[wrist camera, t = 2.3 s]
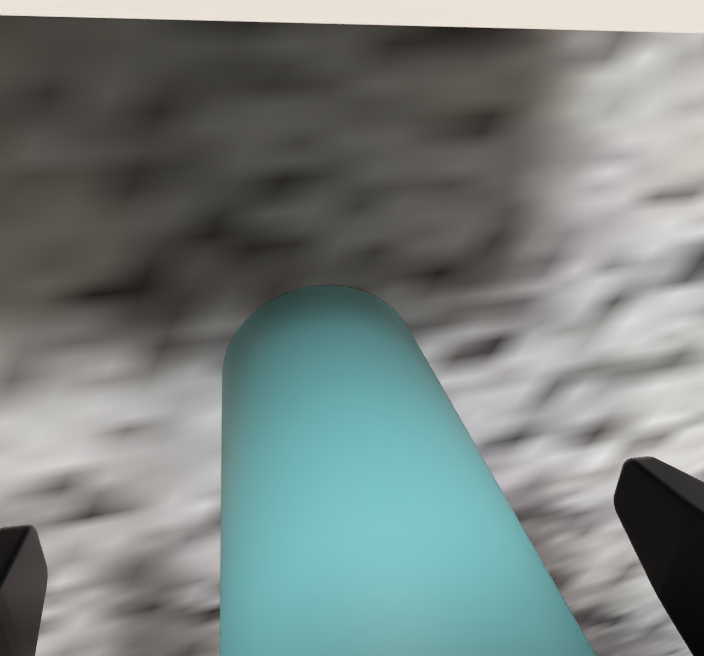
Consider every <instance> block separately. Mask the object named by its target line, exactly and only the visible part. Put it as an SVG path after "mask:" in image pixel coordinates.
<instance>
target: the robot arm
mask: <svg viewBox="0 0 704 656" xmlns="http://www.w3.org/2000/svg"><path fill="white" fill-rule="evenodd" d="M614 506H615V510H616V513H617V515H618V517H619V519H620V521H621V523H622V525H623V527H624V529H625V531H626V533H627V535H628V537H629V540H630V542H631V544H632V546H633V548H634V550H635V552H636V554H637V556H638V558H639V560H640V562H641V564H642V566H643V568H644V570H645V572H646V574H647V577H648V579H649V581H650V583H651V585H652V587H653V588H654V590H655V592H656V594H657V596H658V598H659V600H660V601H661V603H662V605H663V607H664V608H665V610H666V612H667V613H668V615H669V617H670V618H671V620H672V622H673V623H674V625H675V627H676V628H677V630H678V631H679V633H680V635H681V636H682V638H683V640H684V641H685V643H686V645H687V646H688V648H689V650H690V651H691V653H692V654H693V656H704V482H702V481H700V480H698V479H696V478H694V477H692V476H690V475H688V474H686V473H684V472H682V471H680V470H678V469H676V468H674V467H672V466H670V465H668V464H666V463H664V462H662V461H660V460H658V459H656V458H654V457H638V458H630V459H628V460H626V461H625V463H624V464H623V466H622V470H621V473H620V477H619V480H618V484H617V487H616V490H615V494H614ZM47 577H48V575H47V565H46V562H45V558H44V555H43V551H42V548H41V544H40V541H39V537H38V534H37V531H36V529H35V528H34V526H32V525H19V526H10V527H4V528H1V529H0V656H35V652H36V646H37V640H38V634H39V628H40V622H41V616H42V610H43V604H44V598H45V593H46V587H47Z"/></svg>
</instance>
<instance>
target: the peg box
mask: <svg viewBox="0 0 704 656" xmlns="http://www.w3.org/2000/svg"><path fill="white" fill-rule="evenodd" d="M0 15H11V16H50V17H89V18H128V19H167V20H207V21H246V22H285V23H324V24H363V25H402V26H442V27H481V28H520V29H559V30H598V31H637V32H677V33H704V0H0Z"/></svg>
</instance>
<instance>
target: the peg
mask: <svg viewBox="0 0 704 656" xmlns="http://www.w3.org/2000/svg"><path fill="white" fill-rule="evenodd" d="M220 656H596V654H595V653H594V651H593V649H592V647H591V646H590V644H589V642H588V640H587V639H586V637H585V635H584V633H583V632H582V630H581V628H580V626H579V625H578V623H577V621H576V619H575V618H574V616H573V614H572V612H571V611H570V609H569V607H568V605H567V604H566V602H565V600H564V598H563V597H562V595H561V593H560V592H559V590H558V588H557V586H556V585H555V583H554V581H553V579H552V578H551V576H550V574H549V572H548V571H547V569H546V567H545V565H544V564H543V562H542V560H541V558H540V557H539V555H538V553H537V551H536V550H535V548H534V546H533V544H532V543H531V541H530V539H529V537H528V536H527V534H526V532H525V531H524V529H523V527H522V525H521V524H520V522H519V520H518V518H517V517H516V515H515V513H514V511H513V510H512V508H511V506H510V504H509V503H508V501H507V499H506V497H505V496H504V494H503V492H502V490H501V489H500V487H499V485H498V483H497V482H496V480H495V478H494V476H493V475H492V473H491V471H490V470H489V468H488V466H487V464H486V463H485V461H484V459H483V457H482V456H481V454H480V452H479V450H478V449H477V447H476V445H475V443H474V442H473V440H472V438H471V436H470V435H469V433H468V431H467V429H466V428H465V426H464V424H463V422H462V421H461V419H460V417H459V415H458V414H457V412H456V410H455V409H454V407H453V405H452V403H451V402H450V400H449V398H448V396H447V395H446V393H445V391H444V389H443V388H442V386H441V384H440V382H439V381H438V379H437V377H436V375H435V374H434V372H433V370H432V368H431V367H430V365H429V363H428V361H427V360H426V358H425V356H424V354H423V353H422V351H421V349H420V348H419V346H418V344H417V342H416V341H415V339H414V337H413V335H412V334H411V332H410V330H409V328H408V327H407V325H406V324H405V322H404V321H403V319H402V318H401V317H400V316H399V315H398V313H397V312H396V311H395V310H394V309H393V308H391V307H390V306H389V305H388V304H386V303H385V302H384V301H382V300H380V299H379V298H377V297H375V296H374V295H371V294H369V293H366V292H364V291H362V290H358V289H354V288H350V287H344V286H337V285H321V286H311V287H306V288H302V289H297V290H294V291H291V292H288V293H286V294H283V295H281V296H279V297H277V298H275V299H273V300H271V301H269V302H268V303H266V304H265V305H263V306H262V307H260V308H259V309H257V310H256V311H255V312H254V313H253V314H252V315H251V316H249V317H248V318H247V320H246V321H245V322H244V323H243V324H242V325H241V326H240V328H239V329H238V331H237V332H236V334H235V335H234V337H233V338H232V341H231V343H230V345H229V347H228V349H227V352H226V355H225V359H224V364H223V370H222V462H221V569H220Z"/></svg>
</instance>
